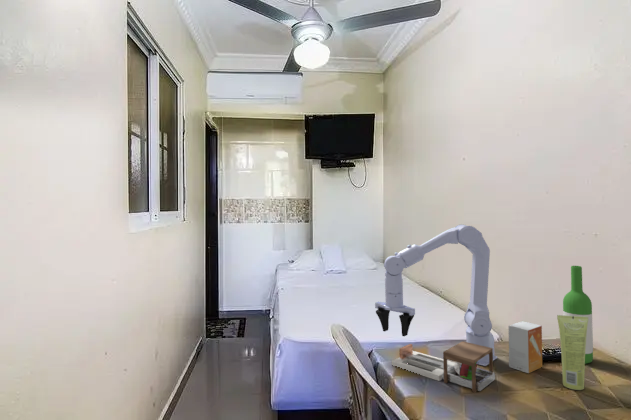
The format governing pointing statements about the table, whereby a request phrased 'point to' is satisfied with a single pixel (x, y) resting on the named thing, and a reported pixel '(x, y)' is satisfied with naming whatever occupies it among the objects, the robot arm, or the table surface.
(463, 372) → the geometric puzzle
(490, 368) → the brown wooden stool
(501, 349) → the table surface
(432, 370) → the pit board
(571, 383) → the tube
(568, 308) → the wine bottle
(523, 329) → the small box
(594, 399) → the table surface
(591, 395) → the table surface
